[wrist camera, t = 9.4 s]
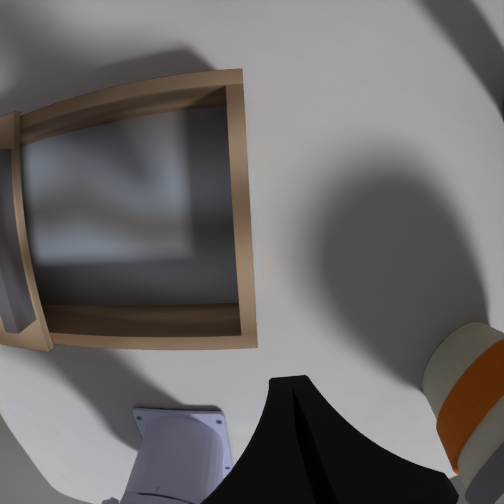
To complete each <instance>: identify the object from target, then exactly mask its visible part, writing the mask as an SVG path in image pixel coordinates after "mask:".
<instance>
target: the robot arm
mask: <svg viewBox="0 0 504 504" xmlns="http://www.w3.org/2000/svg"><path fill="white" fill-rule="evenodd" d="M132 413H133V416H134V418H135V421H136V424H137V426H138V429H139V431H140V434H141V436H142V439H143V440H142V442H141V445H140V448H139V451H138V454H137V457H136V460H135V463H134V465H133V468H132V471H131V474H130V477H129V480H128V483H127V486H126V489H125V492H124V495H123V497H122V499H121V501H120V503H119V500H117V499H115V498H113V497H112V498H110V499H107V500H104V501H102V504H456V503H457V501H458V497H459V495H458V493H457V491H456V490H455V488H454V486H453V484H452V483H451V481H450V480H449V479H448V477H447V476H446V475H445V473H442V472H439V471H436V470H432V469H429V468H426V467H423V466H420V465H417V464H415V463H412V462H410V461H408V460H405V459H403V458H401V457H399V456H397V455H395V454H393V453H391V452H389V451H388V450H386V449H384V448H382V447H380V446H379V445H377V444H376V443H374V442H373V441H371V440H370V439H368V438H367V437H366V436H364V435H363V434H362V433H360V432H359V431H358V430H357V429H355V428H354V427H353V426H352V425H351V424H349V423H348V422H347V421H346V420H345V419H344V418H343V417H342V416H341V415H340V414H339V413H338V412H337V411H336V410H335V409H334V408H333V407H332V406H331V405H330V404H329V403H328V402H327V400H326V399H325V398H324V397H323V396H322V395H321V393H320V392H319V391H318V390H317V388H316V387H315V386H314V384H313V383H312V382H311V380H310V379H309V377H308V376H306V375H300V376H289V377H277V378H271V379H270V380H269V390H268V396H267V400H266V404H265V407H264V410H263V413H262V416H261V418H260V421H259V423H258V425H257V427H256V430H255V432H254V434H253V436H252V438H251V440H250V442H249V444H248V445H247V447H246V449H245V451H244V452H243V454H242V455H241V457H240V458H239V460H238V461H237V463H236V464H235V466H234V467H233V463H232V458H231V452H230V446H229V440H228V434H227V428H226V422H225V416H224V413H222V412H220V411H180V410H160V409H146V408H134V410H133V412H132ZM217 420H221V421H217ZM223 476H226V477H225V478H224V479H223Z"/></svg>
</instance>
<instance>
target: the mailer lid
mask: <svg viewBox="0 0 504 504" xmlns="http://www.w3.org/2000/svg"><path fill="white" fill-rule="evenodd" d="M20 116H21V112H16V111H14V112H12V113H9V114H7V115H5V116H3V117H0V344H2V345H8V346H14V347H20V348H26V349H33V350H40V351H48V352H50V351H51V350H52V349H53V348H54V346H53V343H52V340H51V337H50V334H49V330H48V327H47V324H46V321H45V317H44V314H43V310H42V306H41V302H40V299H39V295H38V290H37V286H36V282H35V277H34V273H33V268H32V263H31V258H30V252H29V246H28V240H27V234H26V227H25V219H24V210H23V201H22V189H21V172H20Z"/></svg>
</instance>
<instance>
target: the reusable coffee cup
mask: <svg viewBox="0 0 504 504" xmlns="http://www.w3.org/2000/svg"><path fill="white" fill-rule="evenodd" d="M422 389H423V391H424V394H425V396H426V398H427V400H428V402H429V404H430V406H431V408H432V411H433V413H434V415H435V417H436V419H437V426H436V429H437V432H438V435H439V437H440V440H441V442H442V444H443V447H444V449H445V451H446V454H447V456H448V459H449V461H450V464H451V466H452V469H453V471H454V472H455V473H456V474H459V475H461V477H462V480H463V482H464V485H465V487H466V493H465V499H466V500H467V502H468V503H469V504H504V333H503V332H501V331H499V330H496V329H494V328H492V327H490V326H488V325H486V324H484V323H482V322H471V323H468V324H465V325H463V326H461V327H460V328H458V329H456V330H455V331H454V332H452V333H451V334H450V335H449V336H448V337H447V338H446V339H445V340H444V341H443V342H442V343H441V344H440V345H439V346H438V348H437V349H436V350H435V351H434V353H433V355H432V356H431V358H430V359H429V362H428V364H427V366H426V368H425V371H424V374H423V379H422Z"/></svg>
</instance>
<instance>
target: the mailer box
mask: <svg viewBox="0 0 504 504" xmlns="http://www.w3.org/2000/svg"><path fill="white" fill-rule="evenodd" d="M20 172H21V189H22V201H23V210H24V219H25V227H26V234H27V240H28V246H29V252H30V258H31V263H32V268H33V273H34V277H35V282H36V286H37V290H38V295H39V299H40V302H41V306H42V310H43V314H44V317H45V321H46V324H47V327H48V330H49V334H50V337H51V340H52V343H53V344H62V345H72V346H85V347H99V348H116V349H141V350H220V349H245V348H258V342H257V324H256V306H255V287H254V269H253V251H252V233H251V215H250V197H249V179H248V161H247V143H246V125H245V107H244V90H243V72H242V69H227V70H215V71H204V72H195V73H187V74H180V75H173V76H166V77H160V78H154V79H149V80H144V81H138V82H133V83H129V84H124V85H120V86H115V87H111V88H107V89H103V90H99V91H95V92H92V93H88V94H84V95H81V96H77V97H74V98H71V99H68V100H64V101H61V102H58V103H55V104H52V105H49V106H46V107H44V108H41V109H38V110H35V111H33V112H30V113H27V114H25V115H22V116H20Z"/></svg>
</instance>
